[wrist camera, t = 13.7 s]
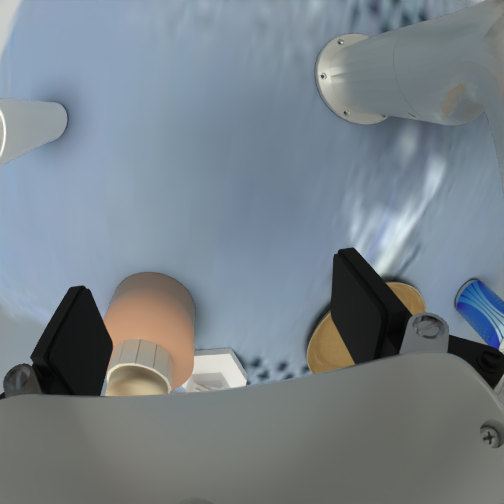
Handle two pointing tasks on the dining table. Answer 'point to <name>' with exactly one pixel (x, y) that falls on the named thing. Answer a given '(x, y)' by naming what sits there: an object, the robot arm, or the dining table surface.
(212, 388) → the soft serve ice cream
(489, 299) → the beer can
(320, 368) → the plant saucer
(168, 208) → the dining table surface
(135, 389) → the stopper
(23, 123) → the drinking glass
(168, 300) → the orange jar
